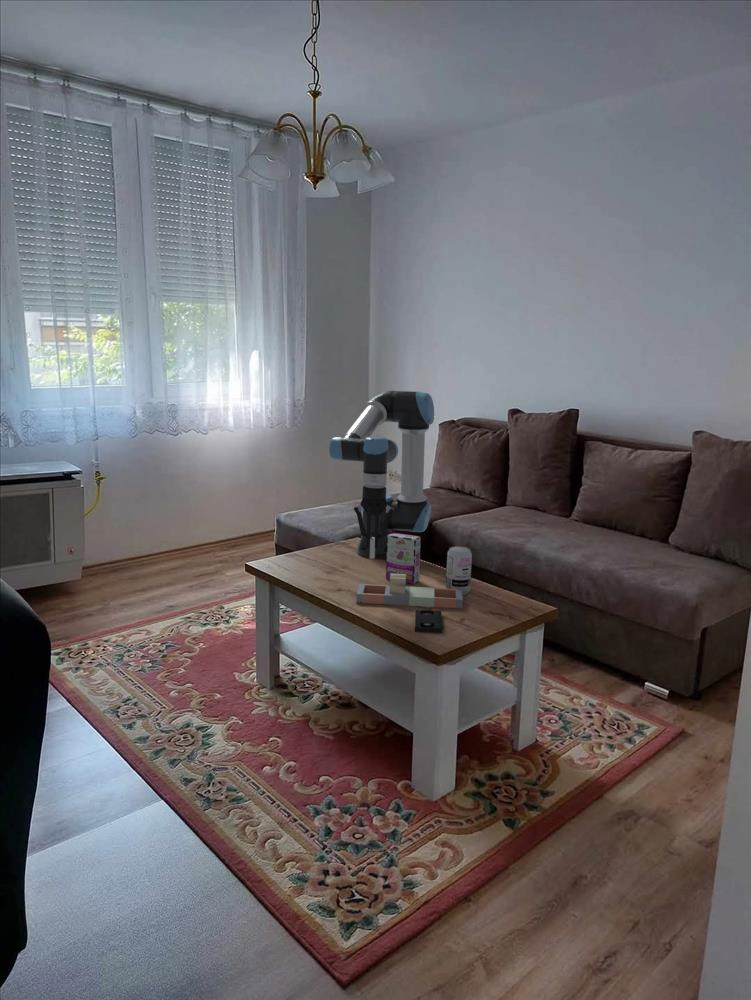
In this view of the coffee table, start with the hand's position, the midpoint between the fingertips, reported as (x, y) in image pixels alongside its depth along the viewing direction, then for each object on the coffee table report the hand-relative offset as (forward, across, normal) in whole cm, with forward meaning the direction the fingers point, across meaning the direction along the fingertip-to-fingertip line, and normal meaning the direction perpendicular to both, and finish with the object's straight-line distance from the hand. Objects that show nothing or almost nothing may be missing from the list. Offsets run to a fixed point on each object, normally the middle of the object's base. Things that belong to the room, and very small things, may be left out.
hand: (372, 557), depth 233 cm
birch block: (+11, +9, 0) cm, 14 cm away
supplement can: (+14, +29, +12) cm, 34 cm away
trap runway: (+14, +13, 0) cm, 19 cm away
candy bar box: (+14, +10, +20) cm, 27 cm away
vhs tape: (+15, +19, -19) cm, 30 cm away
